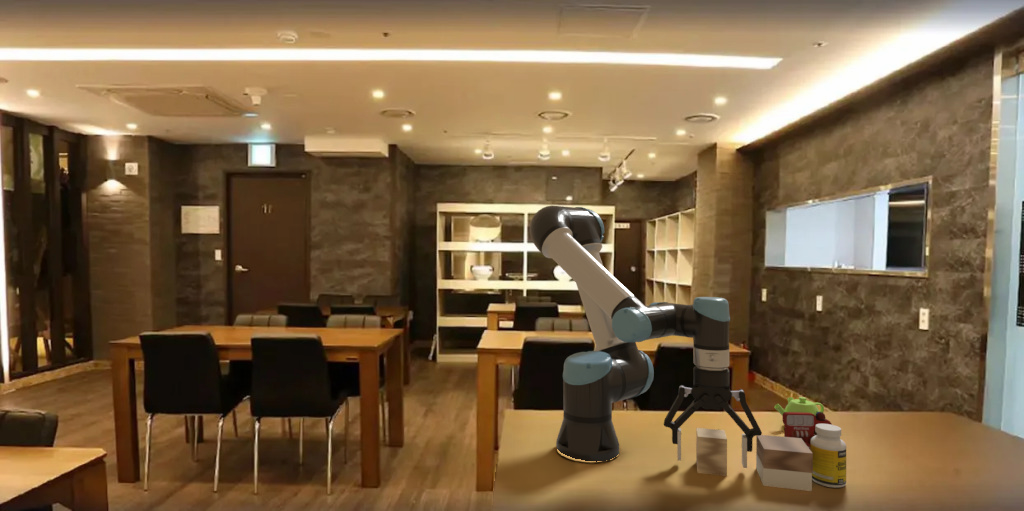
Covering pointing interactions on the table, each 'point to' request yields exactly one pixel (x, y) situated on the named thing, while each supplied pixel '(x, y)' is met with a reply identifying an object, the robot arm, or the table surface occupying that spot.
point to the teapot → (800, 406)
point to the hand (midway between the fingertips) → (711, 462)
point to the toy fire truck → (802, 425)
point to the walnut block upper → (784, 453)
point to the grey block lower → (784, 477)
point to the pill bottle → (828, 456)
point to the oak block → (711, 451)
